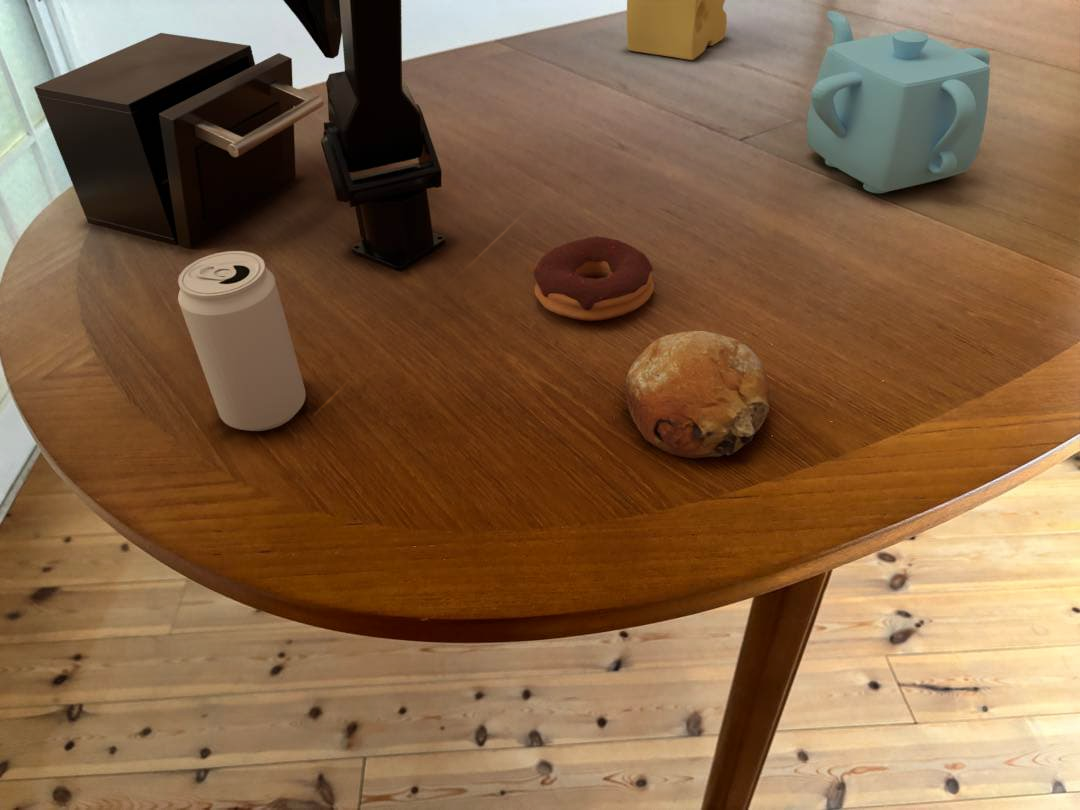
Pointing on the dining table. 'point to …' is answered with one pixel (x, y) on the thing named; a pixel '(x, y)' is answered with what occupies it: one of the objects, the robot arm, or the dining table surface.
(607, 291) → the donut
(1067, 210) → the dining table surface
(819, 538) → the dining table surface
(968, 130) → the teapot
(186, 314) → the beverage can
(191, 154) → the oven door
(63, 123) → the oven
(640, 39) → the cheese
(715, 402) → the bread roll
